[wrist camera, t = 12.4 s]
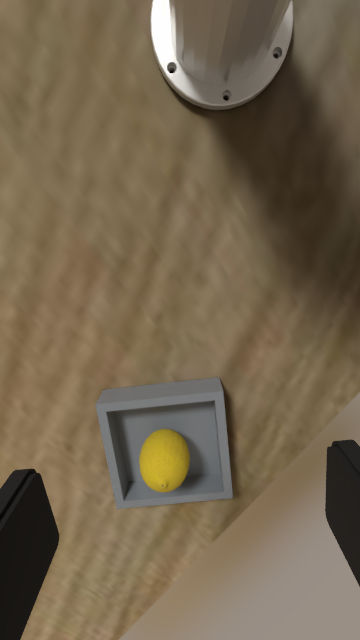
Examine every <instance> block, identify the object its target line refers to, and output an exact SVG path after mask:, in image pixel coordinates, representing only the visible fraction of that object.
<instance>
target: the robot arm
mask: <svg viewBox="0 0 360 640" xmlns="http://www.w3.org/2000/svg"><path fill="white" fill-rule="evenodd" d="M150 24H151V39H152V45H153V50H154V54H155V57H156V61H157V64H158V66H159V68H160V70H161V72H162V74H163V76H164V78H165V79H166V81H167V82H168V83H169V85H170V86H171V88H172V89H173V90H174V91H176V92H177V93H178V94H179V95H180V96H181V97H182V98H184V99H185V100H187V101H188V102H190V103H192V104H194V105H196V106H199V107H202V108H205V109H212V110H224V109H231V108H234V107H238V106H241V105H243V104H245V103H247V102H249V101H250V100H252V99H254V98H255V97H256V96H257V95H259V94H260V93H261V92H262V91H263V90H264V89H265V88H266V87H267V86H268V85H269V83H270V82H271V81H272V80H273V78H274V77H275V75H276V73H277V72H278V70H279V68H280V66H281V65H282V63H283V61H284V59H285V56H286V54H287V51H288V47H289V44H290V41H291V36H292V28H293V3H292V0H153V1H152V8H151V17H150ZM273 56H275V57H276V58H277V59H276V58H274V57H273ZM170 71H174V72H175V73H170ZM225 97H226V98H227V99H228V101H225V100H224V99H223V98H225ZM325 511H326V518H327V521H328V523H329V526H330V528H331V530H332V532H333V534H334V536H335V538H336V540H337V542H338V544H339V546H340V548H341V550H342V552H343V554H344V556H345V558H346V560H347V561H348V564H349V566H350V568H351V570H352V572H353V574H354V576H355V578H356V580H357V582H358V584H359V586H360V447H359V445H358V444H357V443H356V442H355V441H354V440H343V441H334V442H333V443H332V447H328V448H327V471H326V509H325ZM58 542H59V532H58V529H57V525H56V522H55V519H54V516H53V513H52V509H51V506H50V503H49V500H48V497H47V493H46V490H45V487H44V484H43V481H42V477H41V475H40V474H39V473H36V471H35V470H34V469H23V470H15V471H13V473H12V474H11V475H10V476H9V478H8V479H7V480H6V482H5V483H4V485H3V486H2V487H1V489H0V640H20V639H21V636H22V634H23V631H24V629H25V626H26V624H27V621H28V619H29V616H30V614H31V611H32V609H33V606H34V604H35V601H36V599H37V596H38V594H39V591H40V589H41V586H42V584H43V581H44V579H45V576H46V574H47V571H48V569H49V566H50V564H51V561H52V559H53V556H54V554H55V551H56V549H57V546H58Z"/></svg>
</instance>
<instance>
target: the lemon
mask: <svg viewBox="0 0 360 640" xmlns="http://www.w3.org/2000/svg"><path fill="white" fill-rule="evenodd" d="M189 462H190V454H189V449H188V445H187V443H186V441H185V439H184V438H183V437H182V436H181V435H180V434H179V433H178V432H176V431H174V430H171V429H160V430H157V431H155V432H153V433H152V434H150V435H149V437H148V438H147V439H146V440H145V442H144V444H143V446H142V448H141V452H140V457H139V464H140V472H141V475H142V478H143V480H144V482H145V483H146V484H147V486H149V487H150V488H151V489H153V490H155V491H157V492H170V491H172V490H175V489H176V488H177V487H179V486H180V485H181V484H182V482H183V481H184V479H185V477H186V475H187V472H188V469H189Z"/></svg>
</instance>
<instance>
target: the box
mask: <svg viewBox="0 0 360 640" xmlns="http://www.w3.org/2000/svg"><path fill="white" fill-rule="evenodd" d="M95 405H96V410H97V415H98V420H99V425H100V429H101V434H102V439H103V444H104V449H105V454H106V459H107V463H108V468H109V473H110V478H111V483H112V488H113V493H114V497H115V502H116V507H117V509H121V508H132V507H143V506H153V505H164V504H175V503H185V502H196V501H207V500H217V499H228V498H233V493H232V481H231V470H230V459H229V448H228V437H227V426H226V415H225V404H224V393H223V388H222V385H221V382H220V378H219V377H217V378H207V379H198V380H189V381H179V382H170V383H161V384H151V385H142V386H133V387H123V388H114V389H104V390H103V392H102V393H101V395H100V397H99V399H98V401H97V403H96V404H95ZM160 429H171V430H174V431H176V432H178V433H179V434H180V435H181V436H182V437H183V438H184V439H185V441H186V443H187V445H188V449H189V454H190V462H189V469H188V472H187V475H186V477H185V479H184V481H183V482H182V484H181V485H180V486H179V487H177V488H176V489H175V490H172V491H170V492H157V491H155V490H153V489H151V488H150V487H149V486H147V484H146V483H145V482H144V480H143V478H142V475H141V472H140V464H139V457H140V452H141V448H142V446H143V444H144V442H145V440H146V439H147V438H148V437H149V435H150V434H152V433H153V432H155V431H157V430H160Z"/></svg>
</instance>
